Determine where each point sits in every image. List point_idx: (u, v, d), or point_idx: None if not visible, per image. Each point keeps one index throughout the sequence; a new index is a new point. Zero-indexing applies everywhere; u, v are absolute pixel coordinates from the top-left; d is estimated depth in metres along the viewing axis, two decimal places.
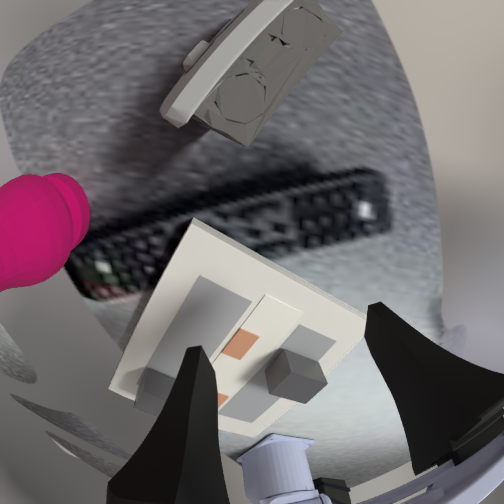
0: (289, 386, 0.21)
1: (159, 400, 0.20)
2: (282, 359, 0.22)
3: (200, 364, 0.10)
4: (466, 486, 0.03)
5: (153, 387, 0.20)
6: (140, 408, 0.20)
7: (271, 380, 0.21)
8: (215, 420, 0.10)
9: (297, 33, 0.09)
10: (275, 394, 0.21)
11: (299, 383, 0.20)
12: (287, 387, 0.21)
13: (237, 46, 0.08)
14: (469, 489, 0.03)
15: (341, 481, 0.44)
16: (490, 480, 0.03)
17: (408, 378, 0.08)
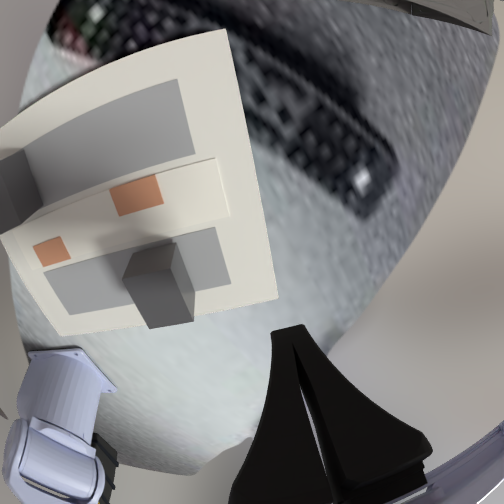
0: (151, 287, 0.15)
1: (3, 189, 0.10)
2: (166, 251, 0.16)
3: (292, 346, 0.10)
4: (466, 486, 0.03)
5: (10, 169, 0.11)
6: None
7: (135, 266, 0.15)
8: None
9: (470, 1, 0.05)
10: (128, 285, 0.14)
11: (165, 293, 0.15)
12: (147, 287, 0.15)
13: None
14: (469, 489, 0.03)
15: (114, 451, 0.39)
16: (490, 480, 0.03)
17: (315, 411, 0.08)
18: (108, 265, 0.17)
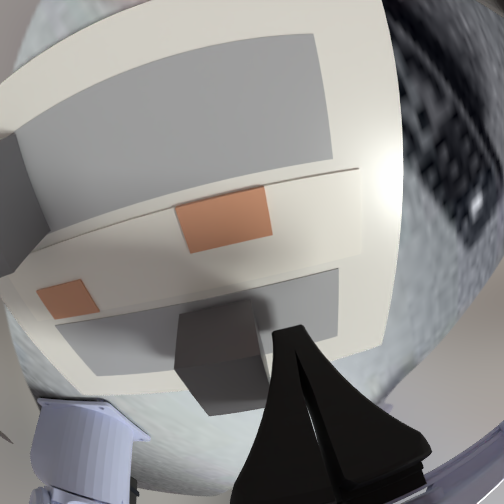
0: (222, 377, 0.09)
1: None
2: (238, 316, 0.10)
3: (293, 345, 0.10)
4: (466, 486, 0.03)
5: None
6: None
7: (191, 343, 0.10)
8: None
9: None
10: (185, 376, 0.09)
11: (244, 382, 0.09)
12: (217, 377, 0.09)
13: None
14: (469, 489, 0.03)
15: (134, 480, 0.34)
16: (490, 480, 0.03)
17: (314, 411, 0.08)
18: (163, 322, 0.12)
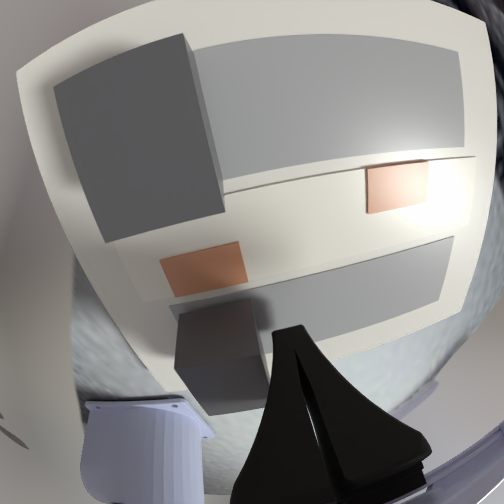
0: (222, 377, 0.09)
1: (183, 108, 0.05)
2: (238, 316, 0.10)
3: (293, 345, 0.10)
4: (466, 486, 0.03)
5: (194, 71, 0.05)
6: (62, 113, 0.04)
7: (191, 343, 0.10)
8: None
9: None
10: (185, 376, 0.09)
11: (244, 382, 0.09)
12: (217, 377, 0.09)
13: None
14: (469, 489, 0.03)
15: None
16: (490, 480, 0.03)
17: (314, 411, 0.08)
18: (315, 289, 0.12)
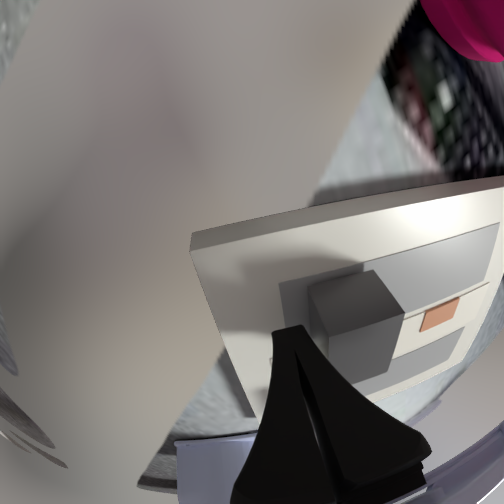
0: None
1: (390, 343, 0.10)
2: None
3: (293, 345, 0.10)
4: (466, 486, 0.03)
5: None
6: (327, 347, 0.09)
7: None
8: None
9: None
10: None
11: None
12: None
13: None
14: (469, 489, 0.03)
15: None
16: (490, 480, 0.03)
17: (314, 411, 0.08)
18: None
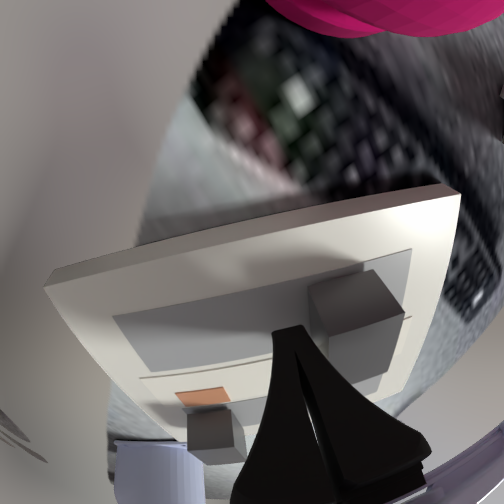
0: (214, 453, 0.14)
1: (391, 342, 0.10)
2: (223, 420, 0.15)
3: (293, 345, 0.10)
4: (466, 486, 0.03)
5: None
6: (327, 347, 0.09)
7: (196, 435, 0.14)
8: None
9: None
10: (193, 452, 0.14)
11: (227, 454, 0.14)
12: (211, 453, 0.14)
13: None
14: (469, 489, 0.03)
15: None
16: (490, 480, 0.03)
17: (314, 411, 0.08)
18: None
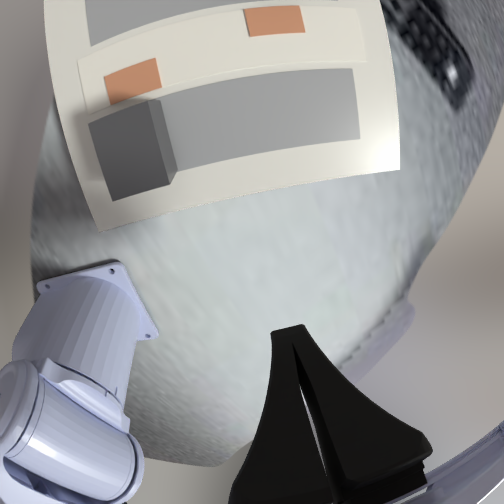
0: (120, 131, 0.10)
1: None
2: None
3: (292, 346, 0.10)
4: (466, 486, 0.03)
5: None
6: None
7: None
8: None
9: None
10: (94, 132, 0.10)
11: (137, 139, 0.11)
12: (116, 131, 0.10)
13: None
14: (469, 489, 0.03)
15: None
16: (490, 480, 0.03)
17: (315, 411, 0.08)
18: (216, 97, 0.13)
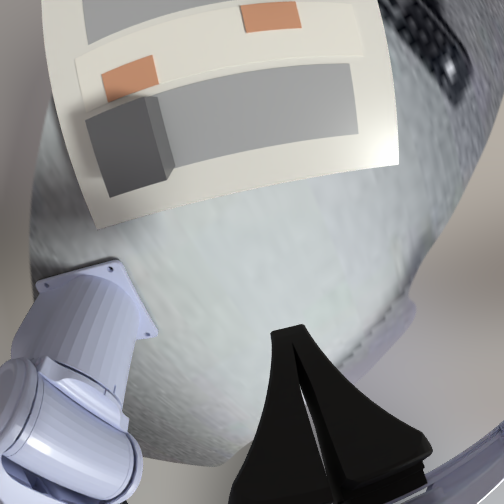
0: (117, 127, 0.10)
1: None
2: None
3: (292, 346, 0.10)
4: (466, 486, 0.03)
5: None
6: None
7: None
8: None
9: None
10: (92, 128, 0.10)
11: (134, 134, 0.11)
12: (113, 127, 0.10)
13: None
14: (469, 489, 0.03)
15: None
16: (490, 480, 0.03)
17: (315, 411, 0.08)
18: (213, 93, 0.13)
